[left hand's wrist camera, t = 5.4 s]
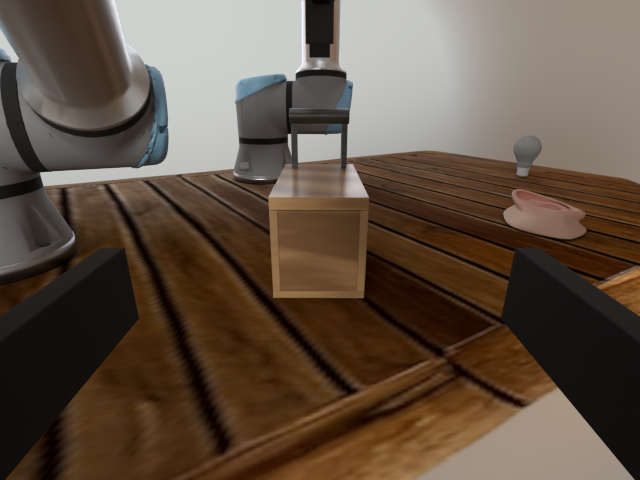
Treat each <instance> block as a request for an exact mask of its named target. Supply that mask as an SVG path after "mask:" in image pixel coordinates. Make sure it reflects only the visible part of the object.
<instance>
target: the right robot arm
mask: <svg viewBox="0 0 640 480" xmlns="http://www.w3.org/2000/svg"><path fill="white" fill-rule="evenodd" d="M340 25H341V0H302V66H301V67H300V68H299V69H298V70H297V71H296V81H286V80H287V78H286V76H285V75H284V74H276V75H265V76H258V77H251V78H246V79H242V80H240V81H239V82H238V83H237V85H236V101H235V103H236V108H237V120H238V133H239V151H238V155H237V159H236V163H235V168H234V179H235V180H237V181H240V182H245V183H259V184H265V183H276V182H277V180H278V178H279V176H280V174H281V172H282V170H283V168H284V166H285V164H292V156H291V153H290V150H289V147H288V134H291V124H290V121H289V109H290V108H297V109H349V112H350V106H351V98H352V87H353V83H352V82H351V81H349V80H348V81H346V71H345V70H344V69H343V68H342V67H341V65H340ZM341 126H342V124H297V134H325V135H327V134H337V133H341Z"/></svg>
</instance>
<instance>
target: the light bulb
mask: <svg viewBox="0 0 640 480" xmlns="http://www.w3.org/2000/svg"><path fill="white" fill-rule="evenodd" d="M541 149H542V145H541V142H540V141H539V139H538V138H536V137H534V136H525V137H522V138H520V139H519V140H518V141H517V142H516V144H515V146H514V154H515V156H516V159H517V166H518V168H517V169H518V170H517V173H516V175H518V176H519V177H525V176H528V170H529V168H530V167H531V165H532V162H533V161H534V160H535V158H536V157H537V156H538V155H539V154H540V152H541Z"/></svg>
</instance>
